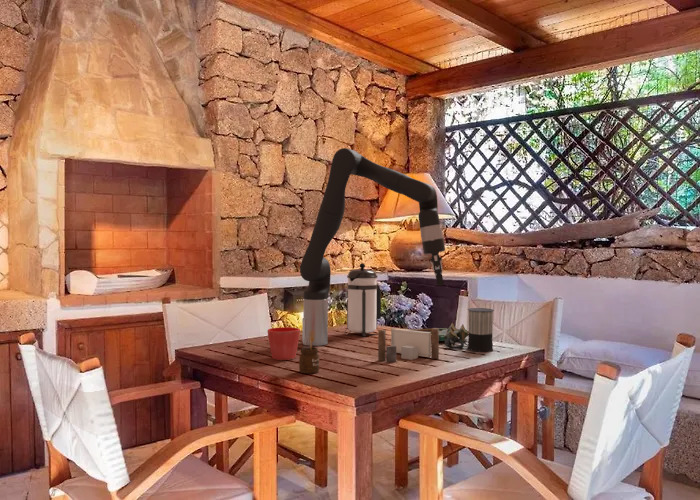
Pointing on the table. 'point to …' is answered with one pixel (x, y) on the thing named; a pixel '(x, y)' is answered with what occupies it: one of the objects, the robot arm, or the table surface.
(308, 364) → the jar with wooden spoon
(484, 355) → the table surface
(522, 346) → the table surface
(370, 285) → the coffee press
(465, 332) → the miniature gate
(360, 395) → the table surface
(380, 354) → the gate posts
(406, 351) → the block
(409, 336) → the panel
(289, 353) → the flower pot
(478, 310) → the milk frother
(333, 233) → the robot arm
